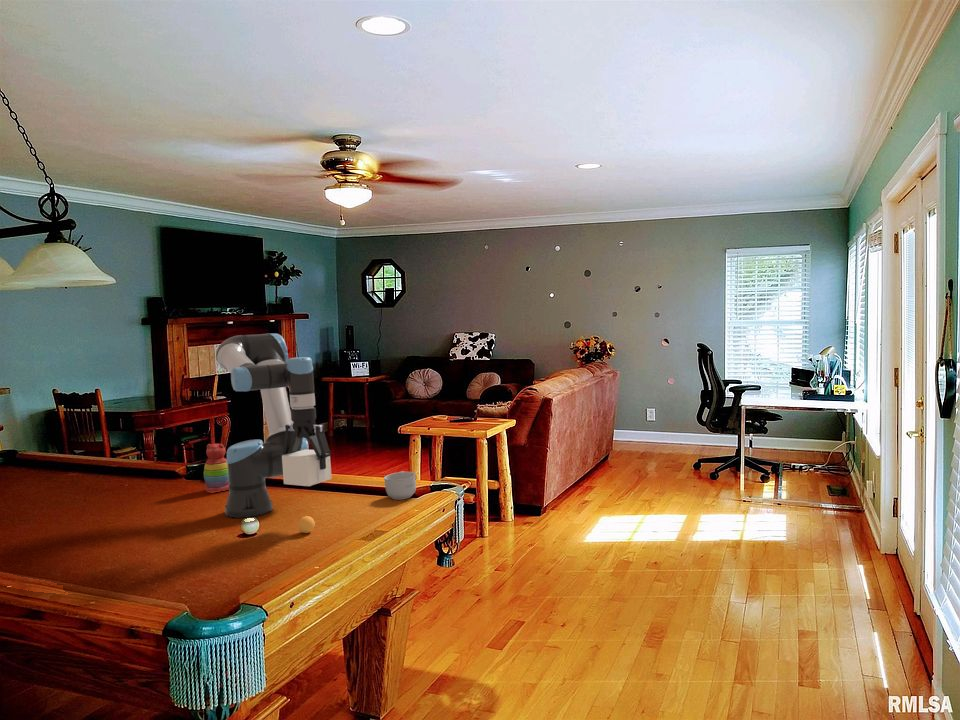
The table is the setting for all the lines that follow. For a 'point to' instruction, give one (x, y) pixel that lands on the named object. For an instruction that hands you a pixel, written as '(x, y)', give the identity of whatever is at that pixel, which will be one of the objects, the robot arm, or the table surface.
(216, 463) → the stacking bear
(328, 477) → the white gift box
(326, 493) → the table surface
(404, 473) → the teacup
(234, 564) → the table surface
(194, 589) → the table surface
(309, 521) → the ball
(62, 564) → the table surface
